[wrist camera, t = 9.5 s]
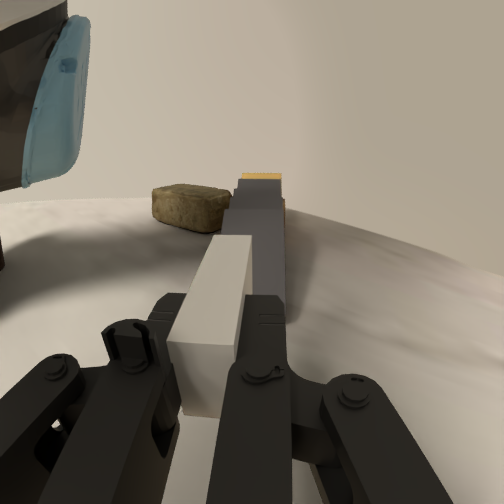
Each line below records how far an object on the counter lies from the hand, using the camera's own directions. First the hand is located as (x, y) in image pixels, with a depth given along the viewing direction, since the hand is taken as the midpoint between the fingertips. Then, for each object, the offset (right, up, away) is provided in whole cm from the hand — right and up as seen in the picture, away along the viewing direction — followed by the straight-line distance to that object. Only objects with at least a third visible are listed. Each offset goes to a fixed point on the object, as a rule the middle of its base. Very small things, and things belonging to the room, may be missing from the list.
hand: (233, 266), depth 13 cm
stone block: (-7, +4, +30) cm, 31 cm away
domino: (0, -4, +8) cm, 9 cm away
